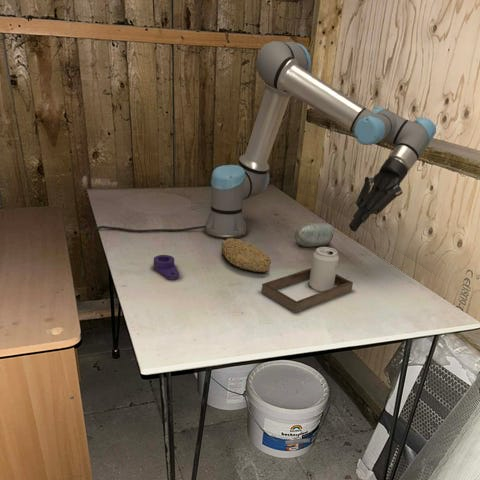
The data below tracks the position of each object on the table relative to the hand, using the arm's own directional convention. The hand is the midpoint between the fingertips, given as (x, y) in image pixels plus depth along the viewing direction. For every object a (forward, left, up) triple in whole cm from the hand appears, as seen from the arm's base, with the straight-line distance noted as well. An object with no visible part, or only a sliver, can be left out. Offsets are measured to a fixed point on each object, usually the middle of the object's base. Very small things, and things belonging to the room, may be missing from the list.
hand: (352, 228), depth 142 cm
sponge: (-31, +4, -17) cm, 36 cm away
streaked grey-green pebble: (-8, +27, -17) cm, 33 cm away
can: (-7, -7, -17) cm, 20 cm away
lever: (-54, -7, -17) cm, 57 cm away
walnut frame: (-11, -11, -17) cm, 23 cm away
